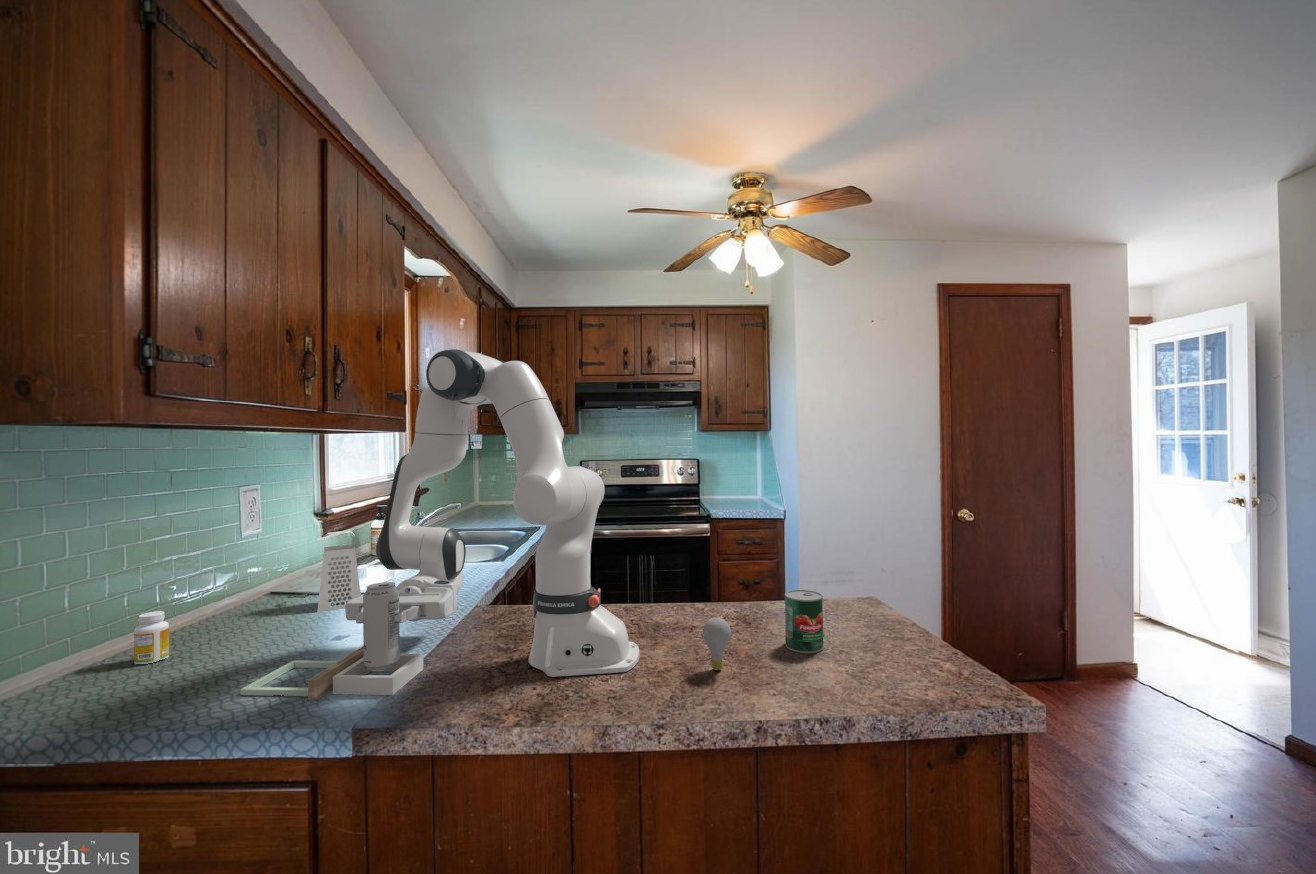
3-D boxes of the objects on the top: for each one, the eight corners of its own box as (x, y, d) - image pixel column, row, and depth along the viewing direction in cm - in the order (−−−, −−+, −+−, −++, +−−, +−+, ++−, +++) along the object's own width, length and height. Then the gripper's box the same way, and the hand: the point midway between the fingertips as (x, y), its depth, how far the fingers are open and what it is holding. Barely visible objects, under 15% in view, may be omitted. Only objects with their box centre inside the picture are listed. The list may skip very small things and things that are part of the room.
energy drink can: (372, 661, 105) (371, 582, 106) (404, 659, 106) (403, 580, 107) (357, 673, 99) (357, 589, 100) (392, 671, 100) (391, 587, 101)
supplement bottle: (163, 653, 118) (163, 608, 118) (173, 658, 116) (173, 612, 116) (129, 662, 114) (129, 615, 114) (139, 667, 111) (139, 619, 111)
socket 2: (423, 669, 108) (423, 654, 108) (392, 695, 97) (392, 678, 97) (369, 668, 109) (369, 653, 109) (332, 694, 98) (332, 677, 98)
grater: (362, 606, 152) (361, 533, 152) (317, 612, 146) (316, 537, 147) (360, 597, 161) (360, 528, 161) (318, 602, 156) (317, 531, 156)
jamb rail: (370, 663, 112) (370, 646, 112) (316, 700, 96) (316, 680, 96) (363, 663, 112) (363, 646, 112) (308, 700, 96) (308, 680, 96)
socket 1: (355, 666, 110) (355, 661, 110) (310, 696, 97) (310, 690, 97) (293, 665, 111) (293, 660, 111) (240, 695, 98) (240, 689, 98)
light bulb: (736, 668, 107) (735, 616, 107) (724, 678, 102) (723, 624, 102) (710, 662, 110) (709, 612, 110) (698, 672, 105) (697, 620, 105)
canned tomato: (808, 656, 112) (807, 602, 112) (777, 645, 118) (776, 594, 118) (831, 647, 117) (830, 595, 117) (800, 637, 123) (799, 587, 123)
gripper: (368, 583, 117) (324, 602, 103) (462, 582, 115) (430, 601, 102) (369, 613, 117) (325, 636, 103) (463, 612, 115) (431, 635, 102)
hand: (378, 619), depth 102 cm, fingers closed on energy drink can, 6 cm apart
